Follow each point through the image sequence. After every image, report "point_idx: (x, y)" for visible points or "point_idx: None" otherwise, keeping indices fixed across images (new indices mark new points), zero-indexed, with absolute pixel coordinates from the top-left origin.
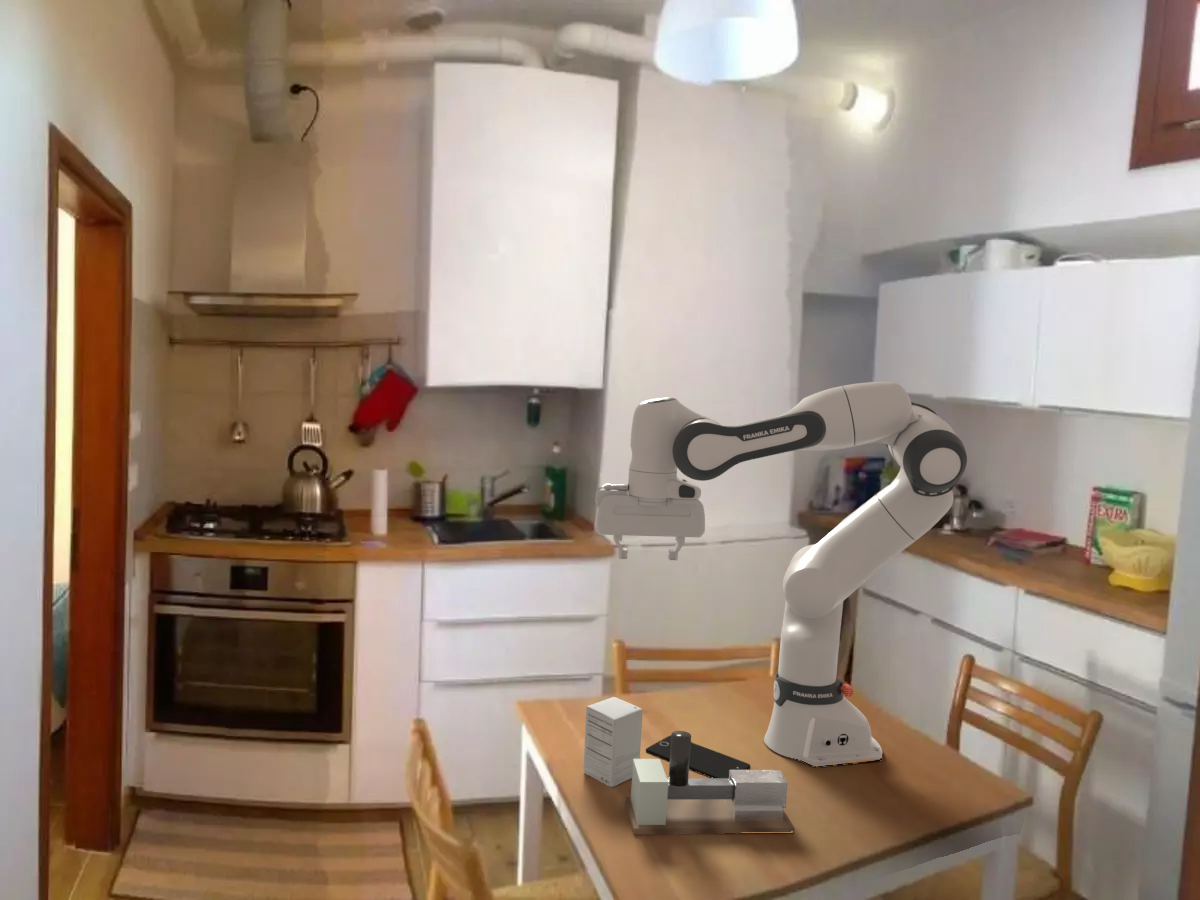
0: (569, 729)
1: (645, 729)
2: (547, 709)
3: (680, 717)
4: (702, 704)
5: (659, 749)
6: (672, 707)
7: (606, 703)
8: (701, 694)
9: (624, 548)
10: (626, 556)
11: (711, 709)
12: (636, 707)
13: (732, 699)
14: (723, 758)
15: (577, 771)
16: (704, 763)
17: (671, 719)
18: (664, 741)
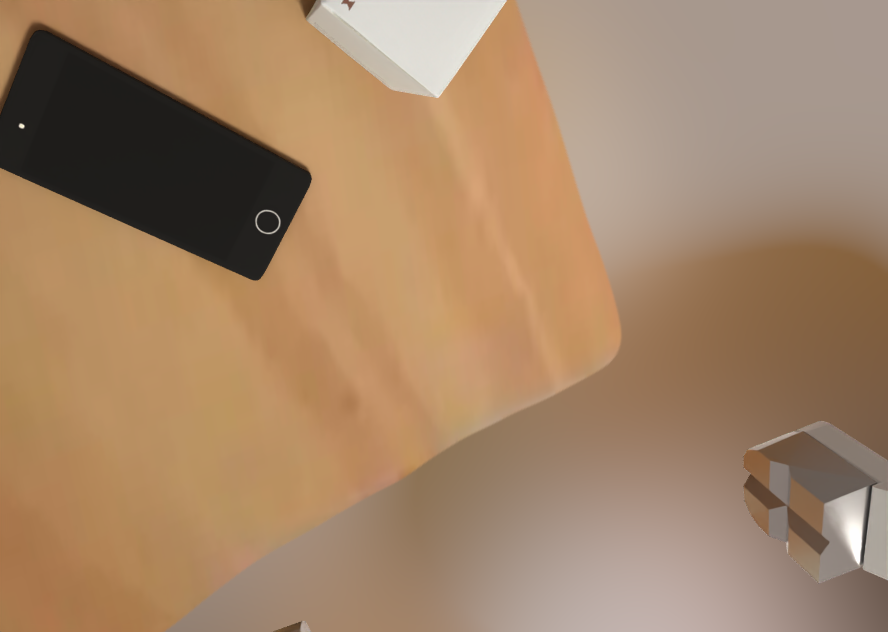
0: (513, 245)
1: (332, 304)
2: (572, 334)
3: (254, 401)
4: (210, 492)
5: (274, 184)
6: (284, 448)
7: (456, 16)
8: (223, 544)
9: (840, 559)
10: (774, 455)
11: (181, 474)
12: (344, 5)
13: (136, 548)
14: (79, 176)
15: None
16: (129, 129)
17: (275, 382)
18: (269, 235)
